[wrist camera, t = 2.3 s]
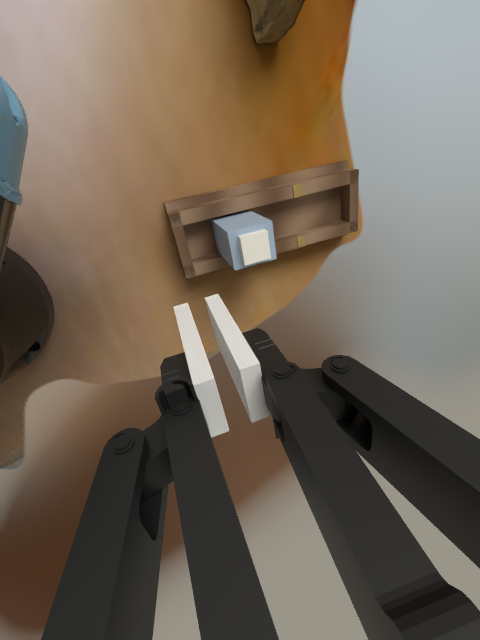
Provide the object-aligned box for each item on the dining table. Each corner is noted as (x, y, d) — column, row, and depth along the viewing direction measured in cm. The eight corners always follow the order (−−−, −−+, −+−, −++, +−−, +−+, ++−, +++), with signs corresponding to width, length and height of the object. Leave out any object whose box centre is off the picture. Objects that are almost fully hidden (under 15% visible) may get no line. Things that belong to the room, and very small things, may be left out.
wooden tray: (185, 277, 35) (189, 286, 32) (163, 202, 30) (166, 206, 28) (343, 233, 38) (357, 238, 35) (343, 160, 34) (359, 160, 31)
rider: (217, 250, 33) (237, 273, 26) (210, 218, 31) (229, 234, 25) (251, 241, 34) (280, 261, 27) (246, 209, 32) (275, 222, 25)
